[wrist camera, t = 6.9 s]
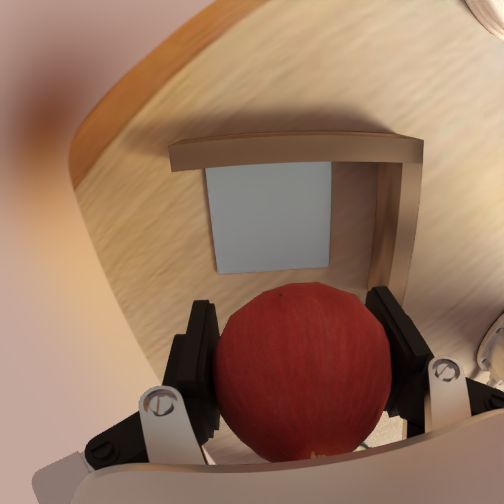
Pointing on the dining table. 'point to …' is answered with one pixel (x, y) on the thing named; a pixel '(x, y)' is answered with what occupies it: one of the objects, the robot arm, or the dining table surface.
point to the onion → (302, 372)
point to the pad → (270, 216)
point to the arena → (335, 150)
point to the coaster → (489, 15)
